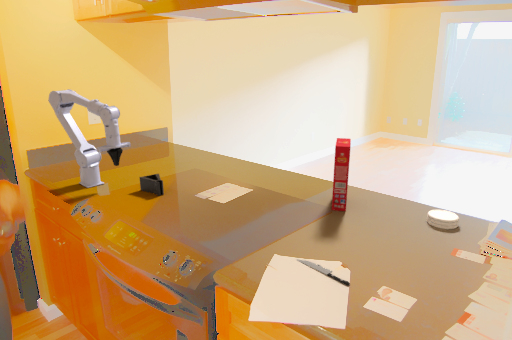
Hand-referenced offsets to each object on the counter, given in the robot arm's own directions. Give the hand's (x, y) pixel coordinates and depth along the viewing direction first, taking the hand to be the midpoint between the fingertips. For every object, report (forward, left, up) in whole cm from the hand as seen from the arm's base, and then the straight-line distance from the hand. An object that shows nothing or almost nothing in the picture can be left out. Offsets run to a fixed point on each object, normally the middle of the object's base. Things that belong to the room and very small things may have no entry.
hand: (116, 165), depth 165 cm
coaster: (+118, +61, -11) cm, 133 cm away
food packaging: (+82, +52, -11) cm, 97 cm away
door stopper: (+10, +9, -7) cm, 16 cm away
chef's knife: (+105, +6, -11) cm, 105 cm away
